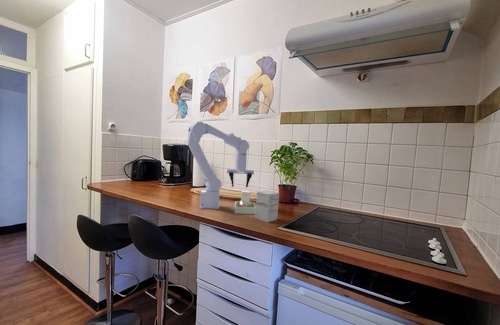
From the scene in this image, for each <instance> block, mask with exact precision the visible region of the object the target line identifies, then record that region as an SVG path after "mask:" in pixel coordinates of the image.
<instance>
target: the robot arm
mask: <svg viewBox="0 0 500 325" xmlns="http://www.w3.org/2000/svg"><path fill="white" fill-rule="evenodd" d="M207 134H208V135H212V136H214V137H217V138H219V139H221V140H223V142H224V144H226V145H229V146H230V147H233V148H234V149H235V150H236V152H235V154H236V155H235V169H234V168H233V169H229V168H227V169H226V174H228V175H229V178H230V181H231V187H232V188H233V187H234V175H235V174H238V175H239V174H240V175H246V184H245V188H248V187H249V183H250V180H251V179H252V176H253V175H255V171H254V170H251V169H247V157H248V156H247V155H248V150H249V148H250V144H249V141H248V140H246V139H242V137H241V136H239V137H238V136H236V135H234V132H228V133H225V132H223V131H221V130H220V129H218V128H216V127H214V126H212V125H210V124H208V123H205V122H203V121H196V122H193V123H191V124H190V125H189V127H188V129H187V142H186V143H187V146H188V147H189V150H190V151H191V153H192V155H193V157H194V159H195V162H196V163H197V166H198V167H199V170H200V171H201V173H202V178H203V181H204V186H205V189H201V190H200V201H199V209H203V210H205V209H211V210H212V209H213V210H219V209H220V206H221V205H220V190H221V188H222V182H221V179H219V178H218V177H217V175H216V174H215V172H214V171H213V169H212V168H211V165H210V164H209V162H208V159H207V158H206V155H205V152H204V151H203V149H202V147H201V145H200V141H201V138H202V137H203V136H204V135H207Z"/></svg>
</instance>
